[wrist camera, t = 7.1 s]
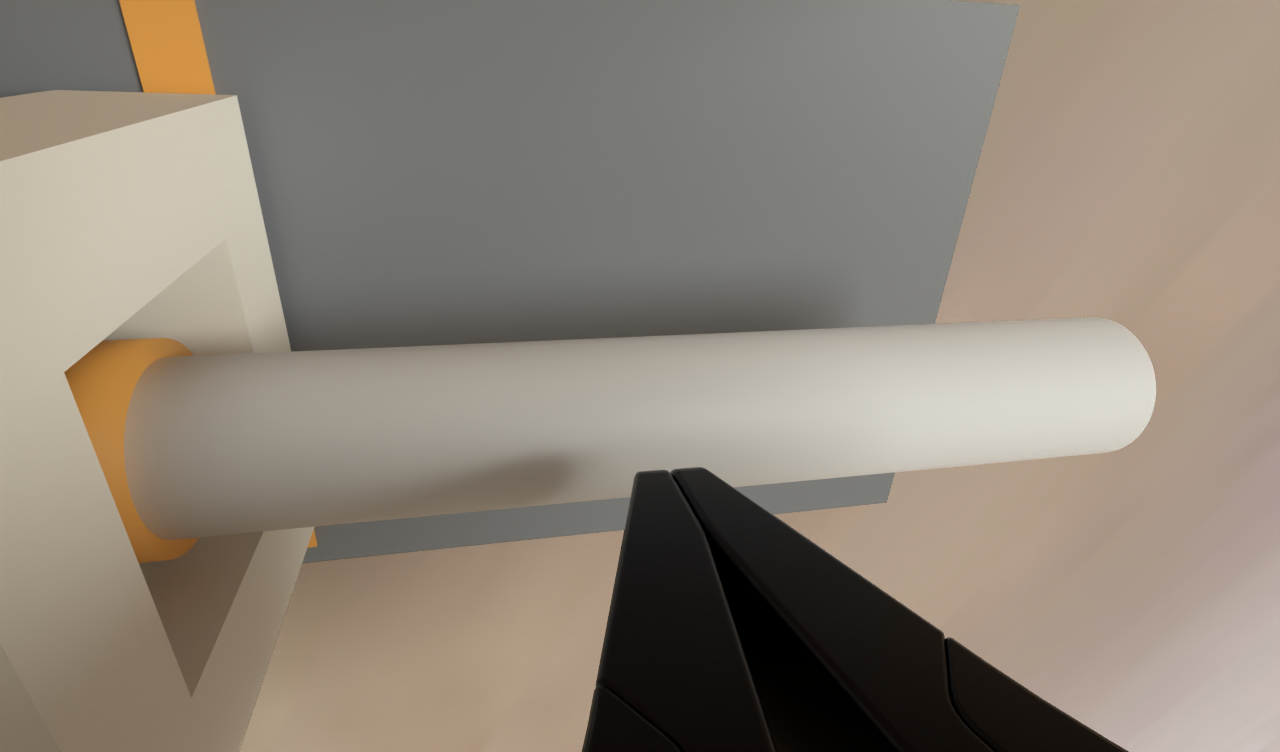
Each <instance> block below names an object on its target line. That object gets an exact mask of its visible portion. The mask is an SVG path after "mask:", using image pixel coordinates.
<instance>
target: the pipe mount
mask: <svg viewBox="0 0 1280 752" xmlns="http://www.w3.org/2000/svg"><path fill="white" fill-rule="evenodd" d="M1019 8H1020V5H1009V4H994V3H980V2H966V1H952V0H0V98H2V97H9V96H16V95H22V94H29V93H36V92H43V91H50V90H78V91H112V92H145V93H179V94H213V95H237V98H238V103H239V108H240V112H241V117H242V122H243V126H244V131H245V136H246V140H247V145H248V150H249V155H250V159H251V164H252V169H253V173H254V178H255V183H256V187H257V192H258V197H259V202H260V206H261V211H262V216H263V220H264V225H265V230H266V235H267V239H268V244H269V249H270V253H271V258H272V263H273V267H274V272H275V277H276V282H277V286H278V291H279V296H280V300H281V305H282V310H283V314H284V319H285V324H286V329H287V333H288V338H289V343H290V347H291V352H270V353H247V354H224V355H201V356H194V355H193V354H192V353H191V351H190V350H189V349H188V348H187V347H185V346H184V345H183V344H181V343H180V342H178V341H176V340H173V339H170V338H148V339H121V340H103V341H101V342H100V343H99V344H98V345H97V346H95V347H94V348H93V349H92V350H90V351H89V352H88V353H87V354H86V355H84V356H83V357H82V358H81V359H80V360H78V361H77V362H76V363H75V364H74V365H72V366H71V367H70V368H69V369H68V370H66V371H65V372H64V374H65V376H66V379H67V381H68V384H69V386H70V389H71V391H72V394H73V397H74V399H75V402H76V404H77V407H78V409H79V412H80V414H81V417H82V420H83V422H84V425H85V427H86V430H87V432H88V435H89V438H90V440H91V443H92V445H93V448H94V450H95V453H96V455H97V458H98V461H99V463H100V466H101V468H102V471H103V473H104V476H105V478H106V481H107V484H108V486H109V489H110V491H111V494H112V496H113V499H114V501H115V504H116V507H117V509H118V512H119V514H120V517H121V519H122V522H123V524H124V527H125V530H126V532H127V535H128V537H129V540H130V542H131V545H132V547H133V550H134V553H135V555H136V558H137V560H138V563H144V562H154V561H165V560H172V559H176V558H179V557H180V556H182V555H184V554H185V553H186V552H187V551H188V550H190V549H191V548H192V546H193V545H194V544H195V543H196V542H197V540H198V539H199V537H209V536H220V535H231V534H241V533H252V532H263V531H273V530H284V529H295V528H305V527H314V529H313V532H312V535H311V538H310V541H309V544H308V547H307V550H306V553H305V556H304V559H303V562H302V563H308V562H318V561H328V560H337V559H347V558H357V557H366V556H376V555H385V554H395V553H405V552H414V551H424V550H434V549H443V548H453V547H463V546H472V545H482V544H492V543H501V542H511V541H520V540H530V539H540V538H549V537H559V536H569V535H578V534H588V533H598V532H607V531H617V530H625V525H626V519H627V514H628V508H629V503H630V498H631V492H632V487H633V481H634V477H635V474H636V473H637V472H640V471H651V470H667V471H669V472H671V471H672V470H673V469H679V468H692V467H703V468H705V469H707V470H709V471H710V472H712V473H713V474H715V475H716V476H717V477H719V478H720V479H722V480H723V481H725V482H726V483H728V484H729V485H731V486H732V487H733V488H735V489H736V490H738V491H739V492H741V493H742V494H744V495H745V496H746V497H748V498H749V499H751V500H752V501H754V502H755V503H757V504H758V505H759V506H761V507H762V508H764V509H765V510H767V511H768V512H770V513H771V514H781V513H790V512H800V511H810V510H819V509H829V508H839V507H848V506H858V505H868V504H877V503H887V499H888V496H889V492H890V488H891V484H892V481H893V477H894V473H895V472H904V471H914V470H925V469H936V468H946V467H957V466H968V465H979V464H989V463H1000V462H1011V461H1021V460H1032V459H1043V458H1053V457H1064V456H1075V455H1085V454H1096V453H1106V452H1112V451H1115V450H1119V449H1121V448H1123V447H1125V446H1127V445H1128V444H1130V443H1131V442H1133V441H1134V440H1135V439H1136V438H1137V437H1138V436H1139V435H1140V434H1141V433H1142V431H1143V430H1144V429H1145V427H1146V425H1147V424H1148V422H1149V420H1150V418H1151V415H1152V412H1153V409H1154V405H1155V398H1156V380H1155V374H1154V370H1153V366H1152V363H1151V360H1150V358H1149V356H1148V354H1147V352H1146V350H1145V348H1144V347H1143V345H1142V344H1141V343H1140V341H1139V340H1138V339H1137V338H1136V337H1135V336H1134V335H1133V334H1132V333H1131V332H1130V331H1129V330H1127V329H1126V328H1125V327H1123V326H1122V325H1120V324H1118V323H1116V322H1114V321H1111V320H1109V319H1104V318H1098V317H1083V318H1060V319H1037V320H1013V321H990V322H967V323H944V324H935V321H936V317H937V313H938V310H939V306H940V302H941V298H942V295H943V291H944V287H945V284H946V280H947V276H948V272H949V269H950V265H951V261H952V258H953V254H954V250H955V246H956V243H957V239H958V235H959V231H960V228H961V224H962V220H963V217H964V213H965V209H966V205H967V202H968V198H969V194H970V191H971V187H972V183H973V179H974V176H975V172H976V168H977V165H978V161H979V157H980V153H981V150H982V146H983V142H984V139H985V135H986V131H987V127H988V124H989V120H990V116H991V112H992V109H993V105H994V101H995V98H996V94H997V90H998V86H999V83H1000V79H1001V75H1002V72H1003V68H1004V64H1005V60H1006V57H1007V53H1008V49H1009V46H1010V42H1011V38H1012V34H1013V31H1014V27H1015V23H1016V19H1017V16H1018V12H1019Z"/></svg>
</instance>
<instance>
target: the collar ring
mask: <svg viewBox="0 0 1280 752" xmlns="http://www.w3.org/2000/svg"><path fill="white" fill-rule="evenodd" d="M148 338H170V339H173V340H176V341H178V342H180V343H181V344H183V345H184V346H185V347H187V348H188V349H189V350H190V351H191V353H192V354H193V355H194V356H201V355H224V354H247V353H270V352H291V347H290V343H289V338H288V333H287V329H286V324H285V319H284V314H283V310H282V305H281V300H280V296H279V291H278V286H277V282H276V277H275V272H274V267H273V263H272V258H271V253H270V249H269V244H268V239H267V235H266V230H265V225H264V220H263V216H262V211H261V206H260V202H259V197H258V192H257V187H256V183H255V178H254V173H253V169H252V164H251V159H250V155H249V150H248V145H247V140H246V136H245V131H244V126H243V122H242V117H241V112H240V108H239V103H238V98H237V95H213V94H179V93H145V92H112V91H78V90H50V91H43V92H36V93H29V94H22V95H16V96H9V97H2V98H0V752H239V751H240V748H241V745H242V742H243V739H244V736H245V733H246V730H247V727H248V724H249V721H250V718H251V715H252V712H253V709H254V706H255V703H256V700H257V697H258V694H259V691H260V688H261V685H262V682H263V679H264V676H265V673H266V670H267V667H268V664H269V661H270V658H271V655H272V652H273V649H274V646H275V643H276V640H277V637H278V634H279V631H280V628H281V625H282V622H283V619H284V616H285V613H286V610H287V607H288V604H289V601H290V598H291V595H292V592H293V589H294V586H295V583H296V580H297V577H298V574H299V571H300V568H301V565H302V562H303V559H304V556H305V553H306V550H307V547H308V544H309V541H310V538H311V535H312V532H313V529H314V527H305V528H295V529H284V530H273V531H263V532H252V533H241V534H231V535H220V536H209V537H199V539H198V540H197V542H196V543H195V544H194V545H193V546H192V548H191V549H190V550H188V551H187V552H186V553H185V554H184V555H182V556H180V557H179V558H176V559H172V560H165V561H154V562H144V563H138V560H137V558H136V555H135V553H134V550H133V547H132V545H131V542H130V540H129V537H128V535H127V532H126V530H125V527H124V524H123V522H122V519H121V517H120V514H119V512H118V509H117V507H116V504H115V501H114V499H113V496H112V494H111V491H110V489H109V486H108V484H107V481H106V478H105V476H104V473H103V471H102V468H101V466H100V463H99V461H98V458H97V455H96V453H95V450H94V448H93V445H92V443H91V440H90V438H89V435H88V432H87V430H86V427H85V425H84V422H83V420H82V417H81V414H80V412H79V409H78V407H77V404H76V402H75V399H74V397H73V394H72V391H71V389H70V386H69V384H68V381H67V379H66V376H65V374H64V372H65V371H66V370H68V369H69V368H70V367H71V366H72V365H74V364H75V363H76V362H77V361H78V360H80V359H81V358H82V357H83V356H84V355H86V354H87V353H88V352H89V351H90V350H92V349H93V348H94V347H95V346H97V345H98V344H99V343H100V342H101V341H103V340H121V339H148Z"/></svg>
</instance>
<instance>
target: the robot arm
mask: <svg viewBox="0 0 1280 752" xmlns="http://www.w3.org/2000/svg"><path fill="white" fill-rule="evenodd" d="M582 752H1128V751H1127V750H1125V749H1123V748H1122V747H1120V746H1118V745H1116V744H1115V743H1113V742H1111V741H1110V740H1108V739H1107V738H1105V737H1103V736H1102V735H1100V734H1098V733H1097V732H1095V731H1094V730H1092V729H1090V728H1089V727H1087V726H1085V725H1084V724H1082V723H1081V722H1079V721H1077V720H1076V719H1074V718H1072V717H1071V716H1069V715H1068V714H1066V713H1064V712H1063V711H1061V710H1060V709H1058V708H1056V707H1055V706H1053V705H1051V704H1050V703H1048V702H1047V701H1045V700H1043V699H1042V698H1040V697H1039V696H1037V695H1036V694H1034V693H1033V692H1031V691H1030V690H1028V689H1027V688H1025V687H1024V686H1022V685H1021V684H1019V683H1018V682H1016V681H1015V680H1013V679H1012V678H1010V677H1009V676H1007V675H1005V674H1004V673H1002V672H1001V671H999V670H998V669H996V668H995V667H993V666H992V665H990V664H989V663H987V662H986V661H984V660H983V659H982V658H980V657H979V656H977V655H976V654H974V653H973V652H971V651H970V650H968V649H967V648H966V647H964V646H963V645H961V644H960V643H958V642H957V641H955V640H954V639H953V638H950V637H949V638H946V639H945V636H944V633H943V632H942V631H941V630H939V629H938V628H936V627H935V626H933V625H932V624H930V623H929V622H927V621H926V620H925V619H923V618H922V617H920V616H919V615H917V614H916V613H914V612H913V611H912V610H910V609H909V608H907V607H906V606H904V605H903V604H901V603H900V602H899V601H897V600H896V599H894V598H893V597H891V596H890V595H888V594H887V593H885V592H884V591H883V590H881V589H880V588H878V587H877V586H875V585H874V584H872V583H871V582H870V581H868V580H867V579H865V578H864V577H862V576H861V575H859V574H858V573H857V572H855V571H854V570H852V569H851V568H849V567H848V566H846V565H845V564H843V563H842V562H841V561H839V560H838V559H836V558H835V557H833V556H832V555H830V554H829V553H828V552H826V551H825V550H823V549H822V548H820V547H819V546H817V545H816V544H815V543H813V542H812V541H810V540H809V539H807V538H806V537H804V536H803V535H801V534H800V533H799V532H797V531H796V530H794V529H793V528H791V527H790V526H788V525H787V524H786V523H784V522H783V521H781V520H780V519H778V518H777V517H775V516H774V515H773V514H771V513H770V512H768V511H767V510H765V509H764V508H762V507H761V506H759V505H758V504H757V503H755V502H754V501H752V500H751V499H749V498H748V497H746V496H745V495H744V494H742V493H741V492H739V491H738V490H736V489H735V488H733V487H732V486H731V485H729V484H728V483H726V482H725V481H723V480H722V479H720V478H719V477H717V476H716V475H715V474H713V473H712V472H710V471H709V470H707V469H705V468H703V467H692V468H679V469H673V470H672V471H671V472H669V471H667V470H651V471H640V472H637V473H636V474H635V477H634V481H633V487H632V492H631V498H630V503H629V508H628V514H627V519H626V525H625V530H624V535H623V541H622V546H621V551H620V557H619V562H618V568H617V573H616V578H615V584H614V589H613V595H612V600H611V605H610V611H609V616H608V621H607V627H606V632H605V638H604V643H603V648H602V654H601V659H600V665H599V670H598V675H597V681H596V689H595V690H594V694H593V700H592V705H591V710H590V716H589V721H588V727H587V731H586V735H585V740H584V744H583V748H582Z"/></svg>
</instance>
